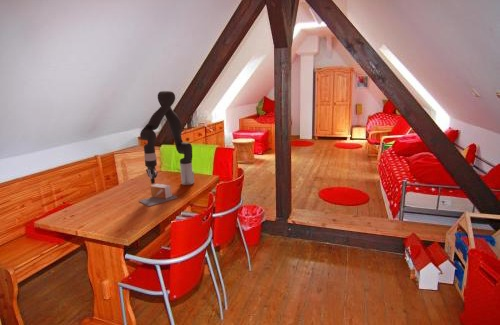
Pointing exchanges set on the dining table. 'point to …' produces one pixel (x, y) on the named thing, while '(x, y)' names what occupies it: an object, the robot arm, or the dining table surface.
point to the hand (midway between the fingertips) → (152, 183)
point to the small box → (161, 191)
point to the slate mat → (156, 200)
